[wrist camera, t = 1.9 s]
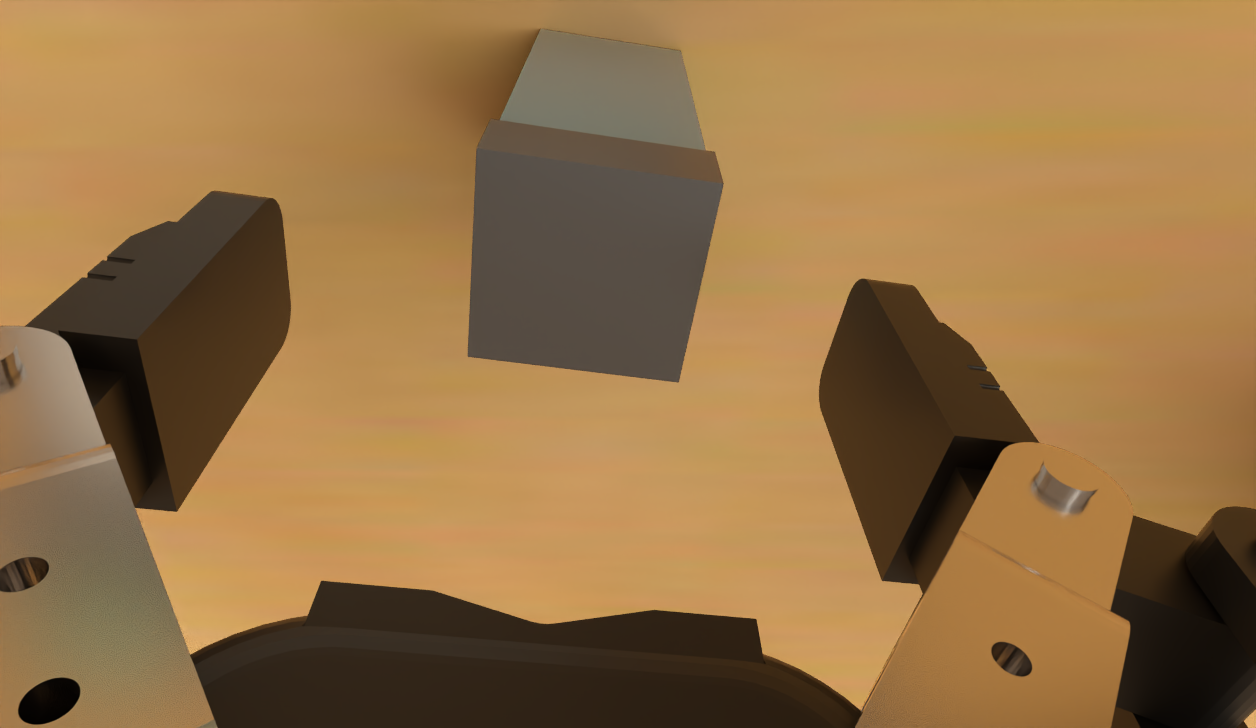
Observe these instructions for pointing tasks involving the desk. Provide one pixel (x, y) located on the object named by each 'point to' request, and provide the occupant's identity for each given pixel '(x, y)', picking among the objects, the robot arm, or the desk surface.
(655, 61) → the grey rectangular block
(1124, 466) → the desk surface
